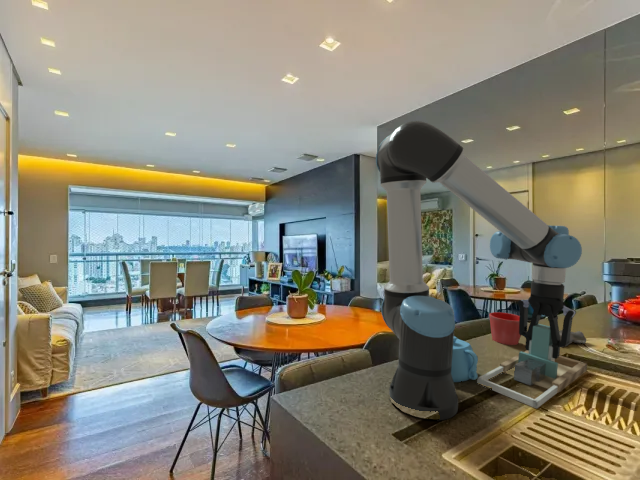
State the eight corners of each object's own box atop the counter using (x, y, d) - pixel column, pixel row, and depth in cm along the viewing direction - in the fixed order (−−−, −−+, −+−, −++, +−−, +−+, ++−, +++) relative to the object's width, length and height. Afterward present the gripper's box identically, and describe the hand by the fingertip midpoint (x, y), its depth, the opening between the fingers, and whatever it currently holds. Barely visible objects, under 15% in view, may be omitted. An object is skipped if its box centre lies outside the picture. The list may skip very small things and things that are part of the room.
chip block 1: (530, 385, 86) (531, 370, 85) (513, 379, 89) (514, 364, 89) (536, 381, 88) (538, 366, 88) (520, 375, 91) (521, 361, 91)
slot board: (558, 396, 83) (559, 384, 82) (499, 374, 94) (499, 363, 94) (586, 373, 96) (587, 363, 96) (532, 356, 107) (532, 347, 107)
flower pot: (502, 336, 125) (504, 310, 125) (530, 347, 115) (532, 319, 115) (480, 339, 122) (482, 312, 121) (507, 350, 112) (509, 321, 111)
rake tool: (555, 378, 88) (559, 333, 88) (518, 366, 95) (521, 324, 95) (562, 373, 92) (565, 330, 91) (525, 361, 99) (529, 321, 98)
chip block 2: (538, 382, 88) (539, 367, 88) (522, 376, 91) (523, 361, 91) (544, 378, 90) (545, 363, 90) (528, 372, 93) (529, 358, 93)
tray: (536, 412, 75) (537, 401, 75) (476, 387, 86) (477, 377, 86) (557, 396, 83) (557, 386, 83) (499, 374, 94) (500, 365, 93)
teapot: (436, 323, 104) (493, 342, 88) (434, 357, 104) (490, 381, 89) (407, 329, 97) (463, 350, 82) (405, 365, 98) (460, 393, 82)
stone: (558, 349, 116) (559, 337, 115) (534, 339, 125) (535, 328, 125) (592, 346, 119) (593, 335, 119) (566, 336, 129) (567, 326, 128)
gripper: (590, 286, 88) (582, 374, 89) (519, 275, 101) (513, 352, 103) (581, 289, 83) (573, 381, 85) (508, 277, 97) (502, 357, 98)
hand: (540, 365), depth 94 cm, fingers closed on rake tool, 4 cm apart
